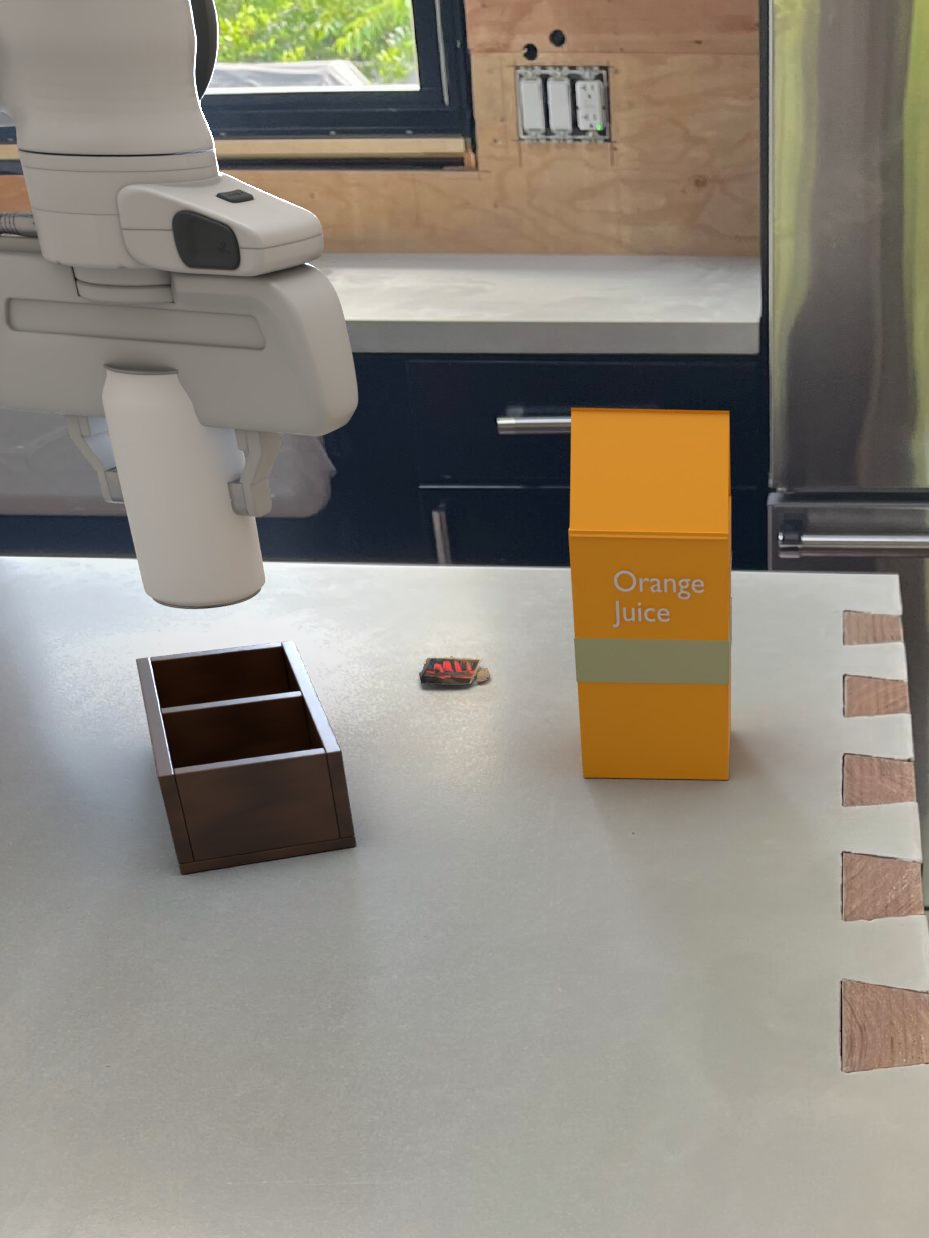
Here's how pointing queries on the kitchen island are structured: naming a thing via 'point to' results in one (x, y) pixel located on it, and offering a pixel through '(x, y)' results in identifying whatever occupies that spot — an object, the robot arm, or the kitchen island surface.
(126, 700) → the kitchen island surface
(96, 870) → the kitchen island surface
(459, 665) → the matchbox
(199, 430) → the can
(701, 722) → the orange juice
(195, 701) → the holder
